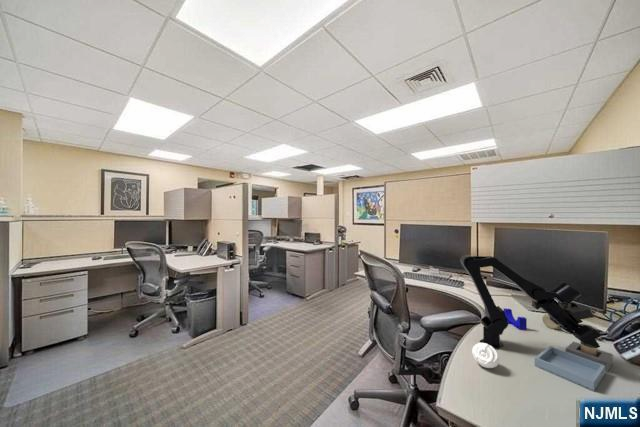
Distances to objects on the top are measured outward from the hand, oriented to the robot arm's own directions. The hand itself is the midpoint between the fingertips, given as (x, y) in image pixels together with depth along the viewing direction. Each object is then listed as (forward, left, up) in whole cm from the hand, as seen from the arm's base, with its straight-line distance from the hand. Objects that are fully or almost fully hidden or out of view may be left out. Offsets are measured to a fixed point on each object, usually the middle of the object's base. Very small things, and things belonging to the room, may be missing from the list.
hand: (593, 343), depth 86 cm
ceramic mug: (+25, +15, -7) cm, 30 cm away
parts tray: (-16, +3, -7) cm, 17 cm away
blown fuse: (-1, +1, -7) cm, 7 cm away
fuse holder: (-1, +1, -7) cm, 7 cm away
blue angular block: (+10, +28, -7) cm, 31 cm away
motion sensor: (-40, +19, -7) cm, 45 cm away
